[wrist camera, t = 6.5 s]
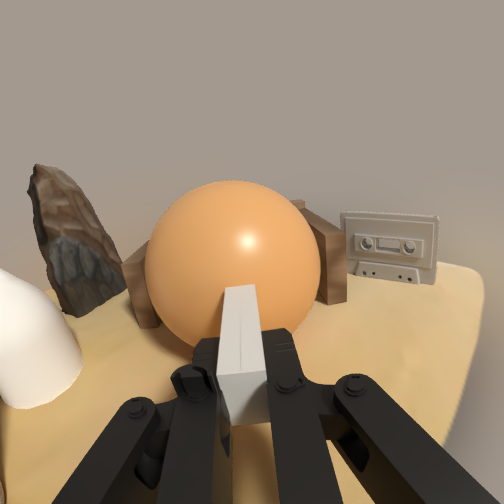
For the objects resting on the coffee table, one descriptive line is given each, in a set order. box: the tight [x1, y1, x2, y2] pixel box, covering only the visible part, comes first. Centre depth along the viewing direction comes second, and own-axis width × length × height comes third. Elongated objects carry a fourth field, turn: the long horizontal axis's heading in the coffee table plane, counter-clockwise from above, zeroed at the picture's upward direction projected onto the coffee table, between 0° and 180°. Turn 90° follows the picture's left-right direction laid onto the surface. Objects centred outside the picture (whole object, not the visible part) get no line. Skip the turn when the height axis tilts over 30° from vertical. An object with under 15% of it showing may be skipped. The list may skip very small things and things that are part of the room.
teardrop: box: [0, 268, 84, 409], centre depth 16 cm, size 11×11×12 cm
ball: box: [145, 180, 321, 347], centre depth 21 cm, size 13×13×13 cm
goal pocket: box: [121, 200, 347, 328], centre depth 34 cm, size 21×18×8 cm
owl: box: [27, 164, 127, 318], centre depth 32 cm, size 13×13×20 cm
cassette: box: [340, 211, 440, 285], centre depth 28 cm, size 12×2×8 cm, turn 50°
